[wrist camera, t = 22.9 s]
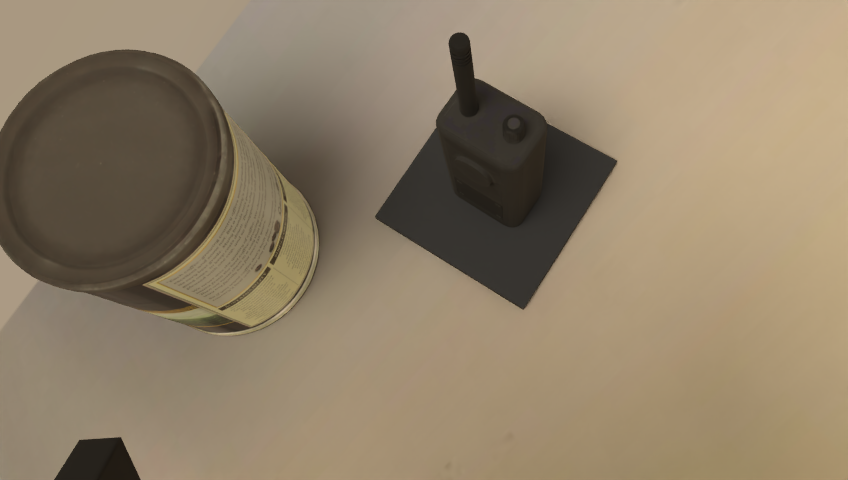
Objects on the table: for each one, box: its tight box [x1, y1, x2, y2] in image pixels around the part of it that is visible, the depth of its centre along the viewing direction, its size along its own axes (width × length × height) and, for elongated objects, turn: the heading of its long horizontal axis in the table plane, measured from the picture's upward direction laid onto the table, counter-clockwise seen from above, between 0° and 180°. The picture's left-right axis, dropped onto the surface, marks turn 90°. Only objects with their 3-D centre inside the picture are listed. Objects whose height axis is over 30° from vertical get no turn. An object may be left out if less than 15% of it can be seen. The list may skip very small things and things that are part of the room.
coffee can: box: [0, 50, 319, 336], centre depth 35 cm, size 10×10×14 cm
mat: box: [375, 124, 617, 309], centre depth 40 cm, size 10×10×1 cm
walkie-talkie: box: [436, 33, 547, 227], centre depth 33 cm, size 5×3×15 cm
